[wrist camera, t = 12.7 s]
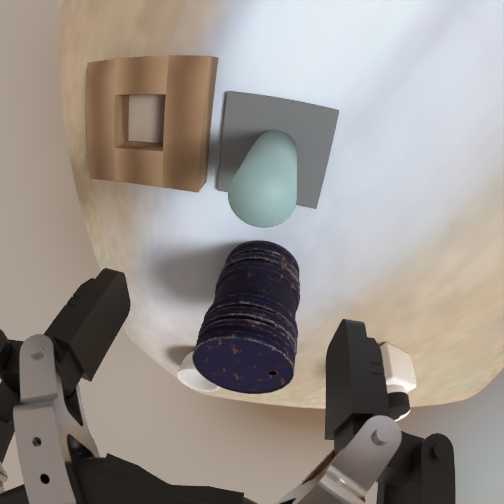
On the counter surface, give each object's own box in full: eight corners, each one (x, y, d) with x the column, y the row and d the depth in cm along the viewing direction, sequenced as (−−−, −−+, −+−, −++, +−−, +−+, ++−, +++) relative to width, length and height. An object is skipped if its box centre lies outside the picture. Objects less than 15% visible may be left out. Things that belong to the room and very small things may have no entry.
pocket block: (218, 58, 24) (209, 56, 22) (206, 182, 32) (197, 192, 30) (103, 61, 25) (87, 62, 22) (103, 169, 33) (90, 178, 30)
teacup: (193, 367, 54) (186, 389, 50) (179, 343, 50) (170, 367, 46) (242, 370, 52) (237, 394, 47) (232, 345, 48) (225, 371, 43)
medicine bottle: (356, 362, 46) (360, 422, 36) (386, 340, 42) (396, 404, 32) (381, 373, 47) (388, 429, 38) (410, 353, 43) (422, 412, 34)
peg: (300, 134, 27) (302, 172, 17) (292, 174, 29) (289, 233, 20) (256, 126, 27) (231, 159, 17) (250, 167, 30) (225, 221, 20)
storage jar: (226, 296, 41) (198, 386, 29) (221, 236, 36) (182, 329, 24) (296, 303, 40) (290, 398, 28) (304, 243, 35) (302, 343, 22)
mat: (338, 110, 25) (339, 110, 25) (315, 206, 32) (316, 208, 31) (228, 91, 26) (227, 91, 25) (218, 188, 32) (217, 190, 32)
